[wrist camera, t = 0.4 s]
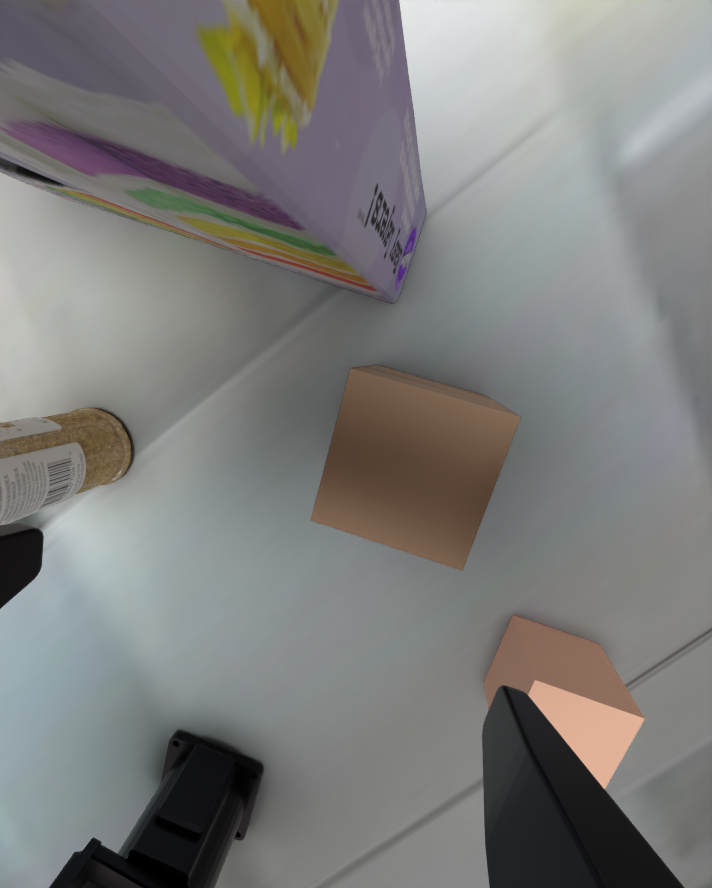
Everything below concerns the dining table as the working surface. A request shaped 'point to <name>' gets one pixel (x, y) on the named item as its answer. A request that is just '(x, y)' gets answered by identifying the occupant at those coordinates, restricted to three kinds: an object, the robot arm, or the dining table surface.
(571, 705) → the cube
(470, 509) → the tan wooden block
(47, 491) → the sprinkles bottle
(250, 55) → the cake pan box
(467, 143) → the dining table surface
